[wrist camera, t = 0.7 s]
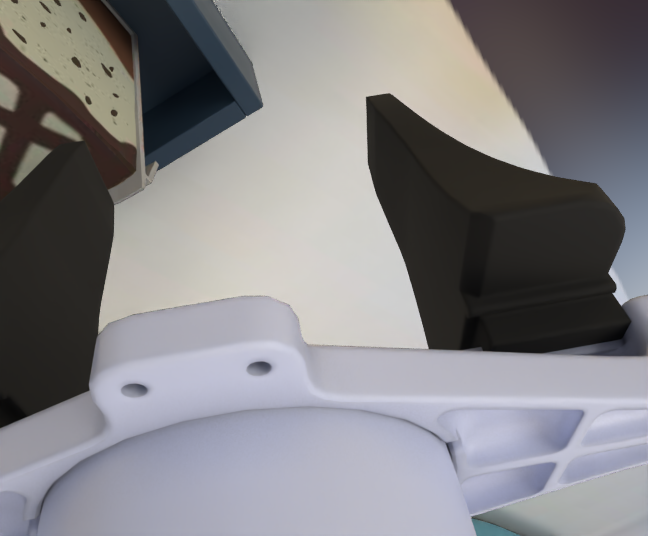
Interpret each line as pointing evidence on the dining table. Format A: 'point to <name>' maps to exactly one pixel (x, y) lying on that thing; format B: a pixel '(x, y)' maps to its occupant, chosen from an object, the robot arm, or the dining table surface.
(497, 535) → the casserole dish
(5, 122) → the food container
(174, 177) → the dining table surface
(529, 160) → the dining table surface
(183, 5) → the tote
